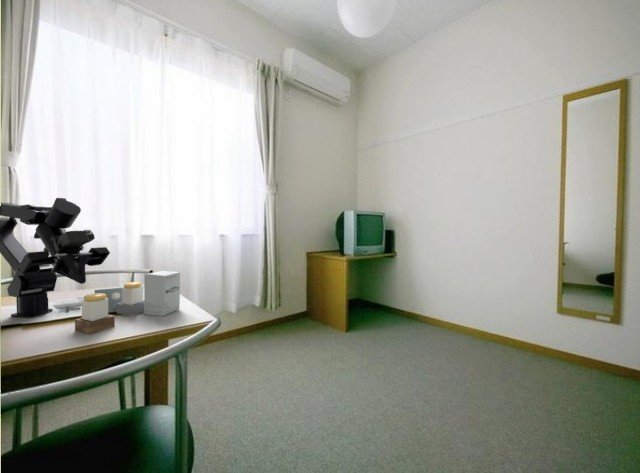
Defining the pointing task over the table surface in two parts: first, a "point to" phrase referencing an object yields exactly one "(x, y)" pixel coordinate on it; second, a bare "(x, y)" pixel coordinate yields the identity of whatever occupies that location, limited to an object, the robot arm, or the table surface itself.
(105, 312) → the lidded white jar
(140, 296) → the yellow topped white block
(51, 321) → the table surface
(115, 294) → the pattern card
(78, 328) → the walnut collar
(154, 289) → the supplement box
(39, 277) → the robot arm
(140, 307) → the grey collar
